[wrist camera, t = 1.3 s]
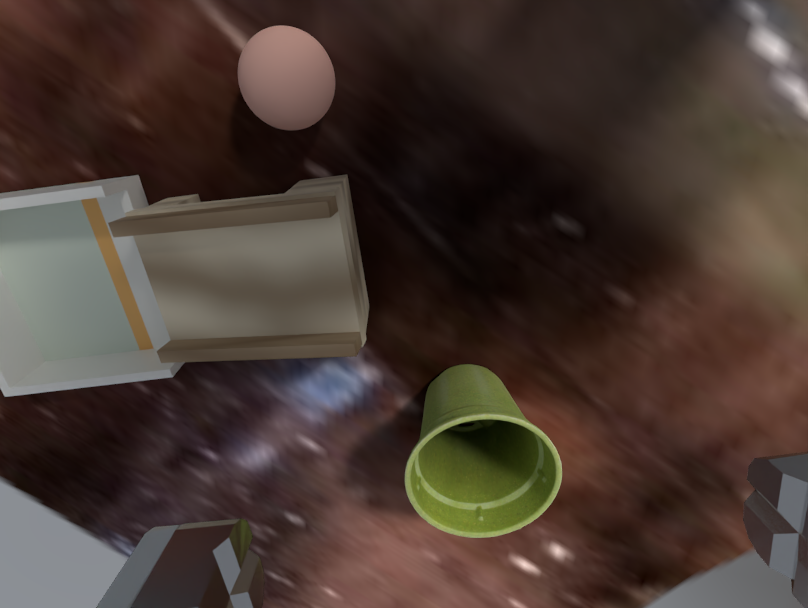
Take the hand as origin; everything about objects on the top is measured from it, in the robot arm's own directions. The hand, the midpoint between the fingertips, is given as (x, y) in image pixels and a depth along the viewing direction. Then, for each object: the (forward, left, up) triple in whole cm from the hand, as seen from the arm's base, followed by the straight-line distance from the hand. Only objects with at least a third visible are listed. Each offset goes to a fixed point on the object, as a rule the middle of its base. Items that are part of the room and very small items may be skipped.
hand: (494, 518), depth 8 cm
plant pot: (+15, +2, -25) cm, 29 cm away
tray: (+2, -23, -25) cm, 34 cm away
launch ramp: (+2, -10, -25) cm, 27 cm away
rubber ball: (-8, -6, -25) cm, 27 cm away
